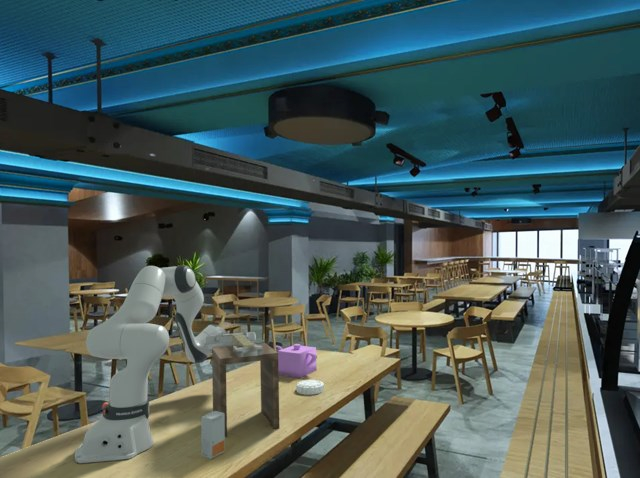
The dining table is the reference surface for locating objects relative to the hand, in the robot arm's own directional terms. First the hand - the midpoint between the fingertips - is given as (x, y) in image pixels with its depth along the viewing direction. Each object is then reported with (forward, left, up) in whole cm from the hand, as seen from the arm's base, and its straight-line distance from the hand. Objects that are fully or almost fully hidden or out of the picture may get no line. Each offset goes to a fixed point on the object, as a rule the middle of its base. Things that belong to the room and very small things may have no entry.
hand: (233, 333), depth 183 cm
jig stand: (0, -20, -29) cm, 35 cm away
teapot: (+37, +36, -29) cm, 59 cm away
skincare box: (-14, -40, -29) cm, 51 cm away
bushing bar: (0, -18, -3) cm, 18 cm away
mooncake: (+34, +6, -29) cm, 45 cm away
